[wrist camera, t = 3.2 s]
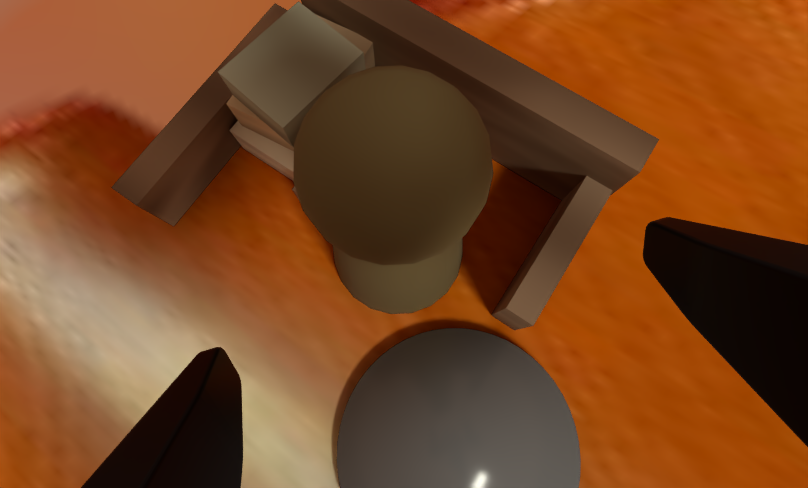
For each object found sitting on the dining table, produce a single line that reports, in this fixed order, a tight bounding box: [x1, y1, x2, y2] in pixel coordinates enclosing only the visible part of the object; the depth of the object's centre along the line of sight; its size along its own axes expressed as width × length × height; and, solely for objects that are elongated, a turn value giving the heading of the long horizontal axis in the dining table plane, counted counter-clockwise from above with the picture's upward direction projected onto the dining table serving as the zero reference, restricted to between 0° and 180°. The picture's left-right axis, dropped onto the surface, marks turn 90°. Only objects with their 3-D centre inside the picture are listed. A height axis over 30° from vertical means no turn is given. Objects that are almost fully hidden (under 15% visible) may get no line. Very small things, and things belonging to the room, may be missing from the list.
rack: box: [111, 0, 659, 330], centre depth 19 cm, size 13×17×5 cm
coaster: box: [337, 328, 580, 488], centre depth 18 cm, size 10×10×1 cm
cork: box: [293, 65, 493, 314], centre depth 15 cm, size 6×6×11 cm
